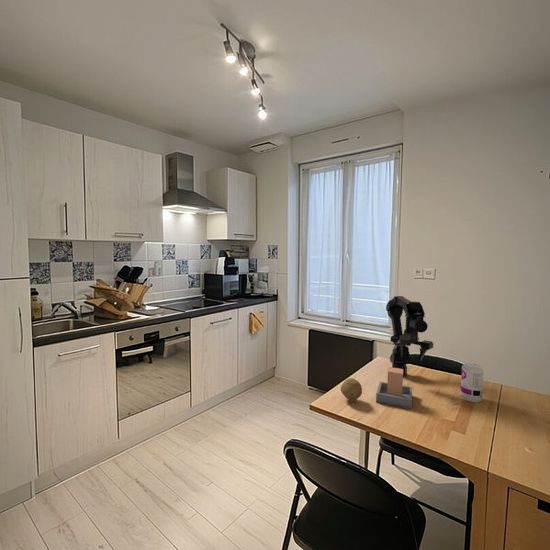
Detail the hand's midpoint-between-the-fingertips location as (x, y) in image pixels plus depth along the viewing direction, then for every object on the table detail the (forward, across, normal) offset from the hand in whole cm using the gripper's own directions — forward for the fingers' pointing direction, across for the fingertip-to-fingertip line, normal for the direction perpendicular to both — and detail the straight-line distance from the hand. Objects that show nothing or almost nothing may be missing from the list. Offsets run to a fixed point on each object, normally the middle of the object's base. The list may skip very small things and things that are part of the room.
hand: (410, 359), depth 155 cm
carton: (+12, +2, -20) cm, 23 cm away
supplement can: (+13, +25, +6) cm, 29 cm away
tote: (+13, +2, -20) cm, 24 cm away
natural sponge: (+13, -10, -36) cm, 40 cm away
